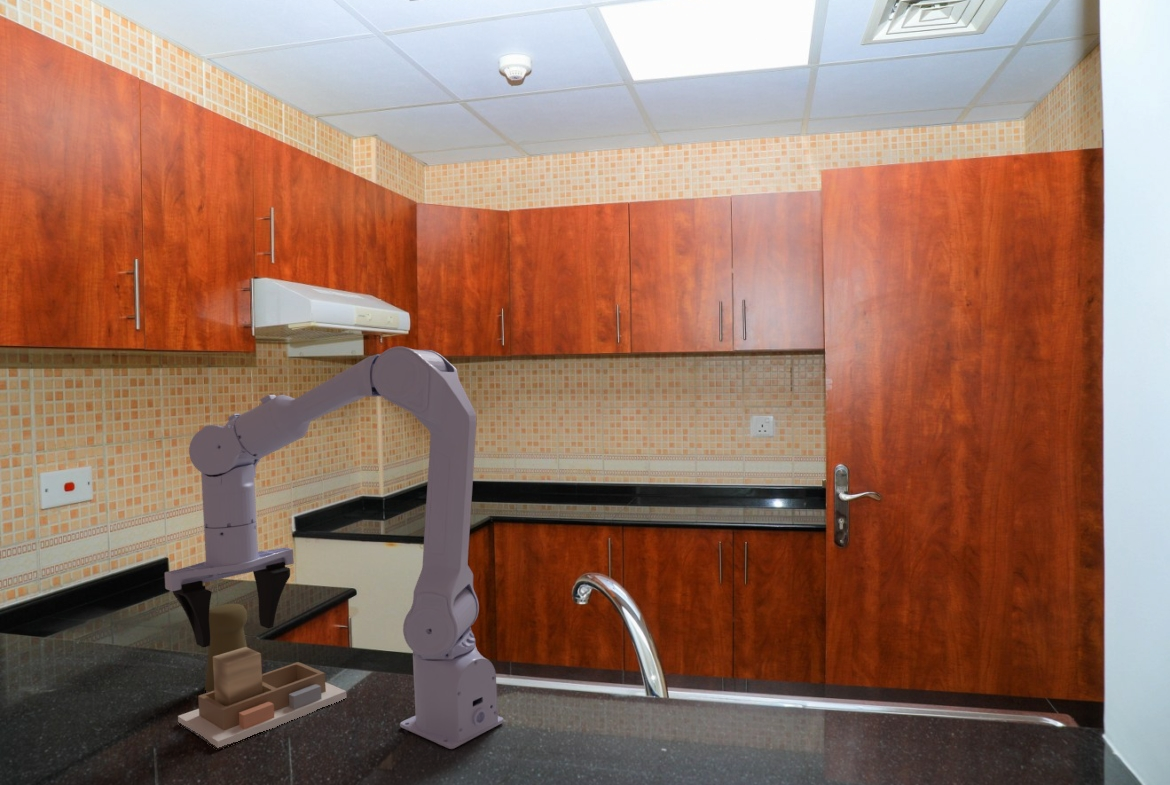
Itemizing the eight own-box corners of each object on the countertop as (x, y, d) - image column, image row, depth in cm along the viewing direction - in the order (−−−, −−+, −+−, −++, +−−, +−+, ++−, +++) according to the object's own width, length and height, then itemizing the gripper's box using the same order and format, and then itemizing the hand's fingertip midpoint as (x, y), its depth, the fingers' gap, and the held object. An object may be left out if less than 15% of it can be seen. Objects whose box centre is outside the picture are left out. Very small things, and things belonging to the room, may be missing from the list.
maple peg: (263, 710, 88) (260, 653, 88) (230, 723, 85) (227, 663, 85) (248, 702, 91) (245, 646, 91) (215, 714, 88) (212, 656, 88)
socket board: (346, 698, 93) (345, 672, 93) (218, 750, 81) (216, 720, 81) (302, 679, 100) (301, 654, 100) (178, 724, 88) (176, 696, 88)
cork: (234, 696, 95) (229, 613, 95) (194, 694, 97) (190, 612, 97) (263, 677, 101) (259, 599, 101) (225, 676, 103) (221, 598, 102)
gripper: (272, 511, 96) (277, 613, 96) (152, 531, 85) (158, 647, 85) (299, 515, 92) (305, 623, 92) (176, 537, 80) (182, 659, 81)
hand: (236, 635), depth 88 cm, fingers open, 7 cm apart
